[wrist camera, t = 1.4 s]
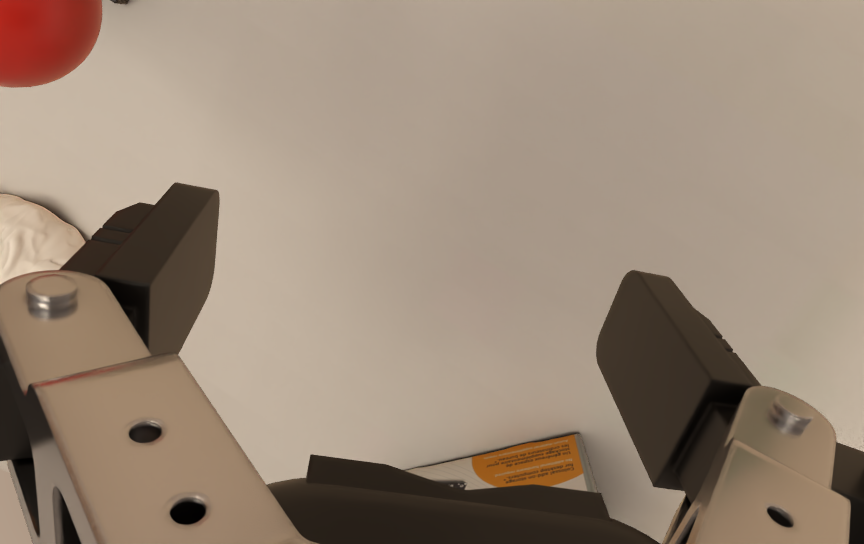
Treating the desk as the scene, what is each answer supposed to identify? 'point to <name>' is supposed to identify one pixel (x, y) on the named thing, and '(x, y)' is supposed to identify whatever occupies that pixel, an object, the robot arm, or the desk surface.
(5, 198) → the bust
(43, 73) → the switch lever
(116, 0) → the switch bracket
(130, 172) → the desk surface
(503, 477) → the hard drive box
